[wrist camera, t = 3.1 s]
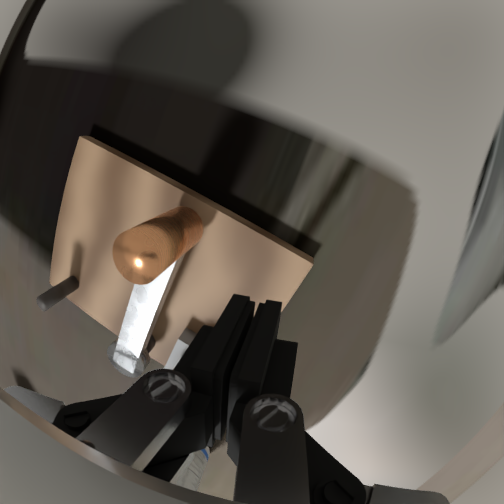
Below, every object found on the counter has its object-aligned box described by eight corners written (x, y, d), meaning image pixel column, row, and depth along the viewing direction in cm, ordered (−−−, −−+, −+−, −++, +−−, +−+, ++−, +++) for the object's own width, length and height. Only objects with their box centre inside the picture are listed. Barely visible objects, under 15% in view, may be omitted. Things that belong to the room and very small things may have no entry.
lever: (148, 368, 28) (116, 412, 21) (117, 347, 28) (81, 387, 21) (214, 221, 21) (174, 252, 15) (169, 196, 21) (115, 216, 15)
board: (57, 278, 31) (18, 302, 24) (89, 136, 24) (37, 138, 18) (223, 387, 31) (204, 433, 24) (313, 257, 24) (313, 296, 18)
